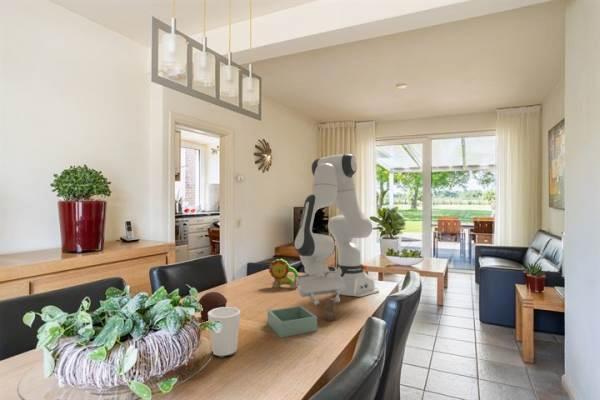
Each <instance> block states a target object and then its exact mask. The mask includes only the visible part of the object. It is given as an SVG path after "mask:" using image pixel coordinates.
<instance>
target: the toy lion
mask: <svg viewBox="0 0 600 400" xmlns="http://www.w3.org/2000/svg"><path fill="white" fill-rule="evenodd" d="M268 268H269V270H268V272H269V274H270V275H271V277H272V278H273V279H274V281H272V287H273V288H275V289H277V288H279V287H281V286H283V285H288V286H289V287H290V288H291V289H292V290H295V289H297V288H298V284H297V283H296V277H297V276H298V275H299V274H298V273H299V272H298V271H297V269H296V268H294V267H292V266H290V264H289V263H288V261H287V260H285V259H283V258H280V259H279V258H277V259H275V260H273V261H272V262H270V265H269V267H268ZM290 272H291V273H293V274H294V279H293V278H291V277H290V276H288V274H289V273H290Z"/></svg>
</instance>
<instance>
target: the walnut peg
mask: <svg viewBox="0 0 600 400" xmlns="http://www.w3.org/2000/svg"><path fill="white" fill-rule="evenodd" d="M324 320H325V321H327V322H334V321H336V302H335V297H326V298H325V299H324Z"/></svg>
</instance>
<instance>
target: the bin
mask: <svg viewBox="0 0 600 400" xmlns="http://www.w3.org/2000/svg"><path fill="white" fill-rule="evenodd" d="M267 324H268V326H269V327H270V328H271V329H272V330H273V331H274V332H275V333H276V334H277V335H278V336H279V337H280V338H287V337H291V336H297V335H302V334H307V333H313V332H318V317H317V315H315V314H313V313H312V312H311V311H309V310H308V309H306V308H305V307H303V305H296V306H291V307H290V306H289V307H283V308H277V309H270V310H267Z"/></svg>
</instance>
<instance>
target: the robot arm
mask: <svg viewBox="0 0 600 400" xmlns="http://www.w3.org/2000/svg"><path fill="white" fill-rule="evenodd" d="M357 168H358V165H357V159H356V158H355V156H354V155H353V154H351V153H342V154H332V155H328V156H325V157H318V158H316V159H314V161H313V162H312V163H311V174H312V175H313V179H312V189H311V193H310V195H308V196H307V197H306V199H305V200H304V203H303V208H302V210H301V211H302V212H301V217H300V221H299V224H298V225H299V226H298V230H297V233H296V235H295V239H294V241H293V242H294V243H293V244H294V249H295V251H296V252H297V254H298V255H299V259H300V261H301V264H302V266H303V267H304V273H305V274H298V276H297V277H296V283H297V284H298V286H297V289H298V293H299V296H300V297H302V298H306V297H308V298H309V299H310V300H311V301H312V303H313V305H314V306H319V305H320V300H319V298H316V297H315V296H321V295H328V294H330V295H331V294H334V296H335V297H334V298H335V303H340V301H341V297H340V295H342V296H349V297H350V296H351V297H352V296H353V297H359V298H360V297H365V296H369V295H373V294H377V293H379V292H380V289H379V288H378V287H376V286H375V281H374V279H373V278H372V277H371V276H370V275H369V274H368V273H366V272H365V271H366V270H367V269H368V265H365V264H361V249H360V247H359V246H358V245H357V244H356V243H355V241H354V239H363V238H364V239H365V238H369V236H371V234H372V232H373V223H372V220H371V219H370V218H368V217H367V216H366V215H365V214H364V212H363V211H362V209H361V207H360V205H359V203H358V198H357V192H356V186H355V185H356V184H355V181H354V180H355V179H354V177H353V176H354V175H355V174H356V172H357ZM333 203H334V204H333ZM332 204H333V205H335V207H336V208H337V209H338V210H340V212H341V214H342V215H340V214H339V215H336V216H332V217H331V218H330V219H328V223H327V229H328V231H329V233H330V234H331V235H332V236H330V235H327V234H321V233H314V232H313V225H314V222H315V221H314V219H315V214H316V213H317V211H318V210H319V209H322V208H326V207H330V206H331V205H332ZM336 245H337V251H338V263H337V267H335V266H330V265H327V264H325V263H324V261H326V260H327V259H329V258H330V257H331V256H332V255H333V254H334V253H335V251H336ZM364 270H365V271H364Z"/></svg>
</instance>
